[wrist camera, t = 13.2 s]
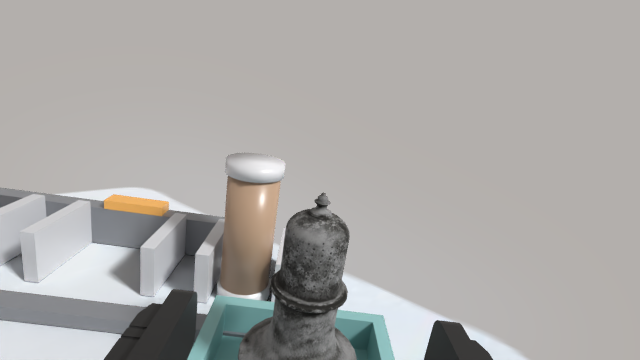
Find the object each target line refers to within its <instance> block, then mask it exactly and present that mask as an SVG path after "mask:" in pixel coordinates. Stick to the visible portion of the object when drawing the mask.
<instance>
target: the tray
mask: <svg viewBox="0 0 640 360" xmlns="http://www.w3.org/2000/svg"><path fill="white" fill-rule="evenodd" d="M274 303H275V302H269V301H261V300H253V299H245V298H237V297H228V296H220V295H216V297H215V300H214V302H213V304H212V306H211V308H210V311H209V313H208V315H207V317H206V319H205V322H204V324H203V326H202V328H201V330H200V332H199V335H198V337H197V339H196V341H195V343H194V346H193V348H192V350H191V352H190V354H189V356H188V359H187V360H238V352H239V346H240V343H241V341H242V339H243V338H241V337H233V336H225V335H223V331H232V332H240V333H247V332H248V331H249V330H250V329H251V328H252V327H253V326H254V325H256V324H257V323H259V322H261V321H263V320H264V319H267V318H270V317H273V311H274ZM335 327H336V328H337V329H339V330H340V331H341V332H342V333H343V334H344V335H345V336H346V338H347V339H348V340H349V341H350V343H351V345H352V347H353V348H354V350H355V354H356V358H357V360H395V359H394V355H393V351H392V347H391V344H390V340H389V336H388V332H387V328H386V325H385V321H384V317H383V315H375V314H367V313H359V312H351V311H342V310H337V316H336V321H335Z"/></svg>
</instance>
